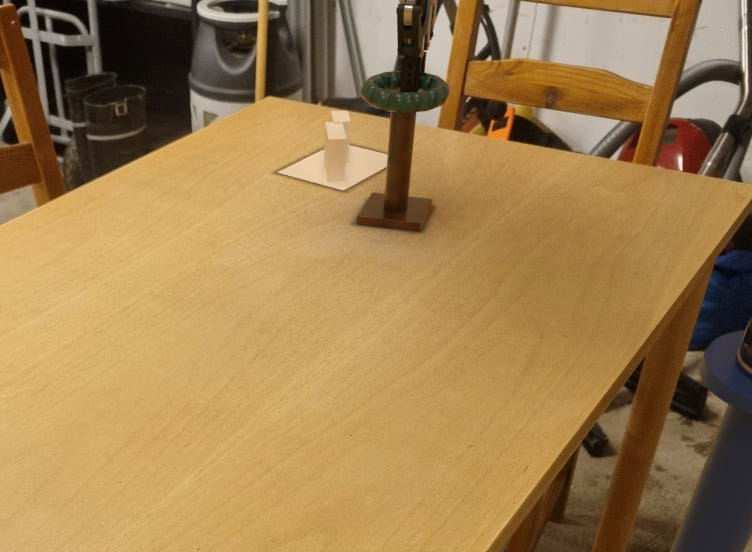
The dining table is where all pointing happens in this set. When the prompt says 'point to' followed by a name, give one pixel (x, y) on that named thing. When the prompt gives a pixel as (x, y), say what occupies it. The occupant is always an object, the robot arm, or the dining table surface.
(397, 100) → the ring
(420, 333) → the dining table surface
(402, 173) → the post
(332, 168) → the napkin holder
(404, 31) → the robot arm
